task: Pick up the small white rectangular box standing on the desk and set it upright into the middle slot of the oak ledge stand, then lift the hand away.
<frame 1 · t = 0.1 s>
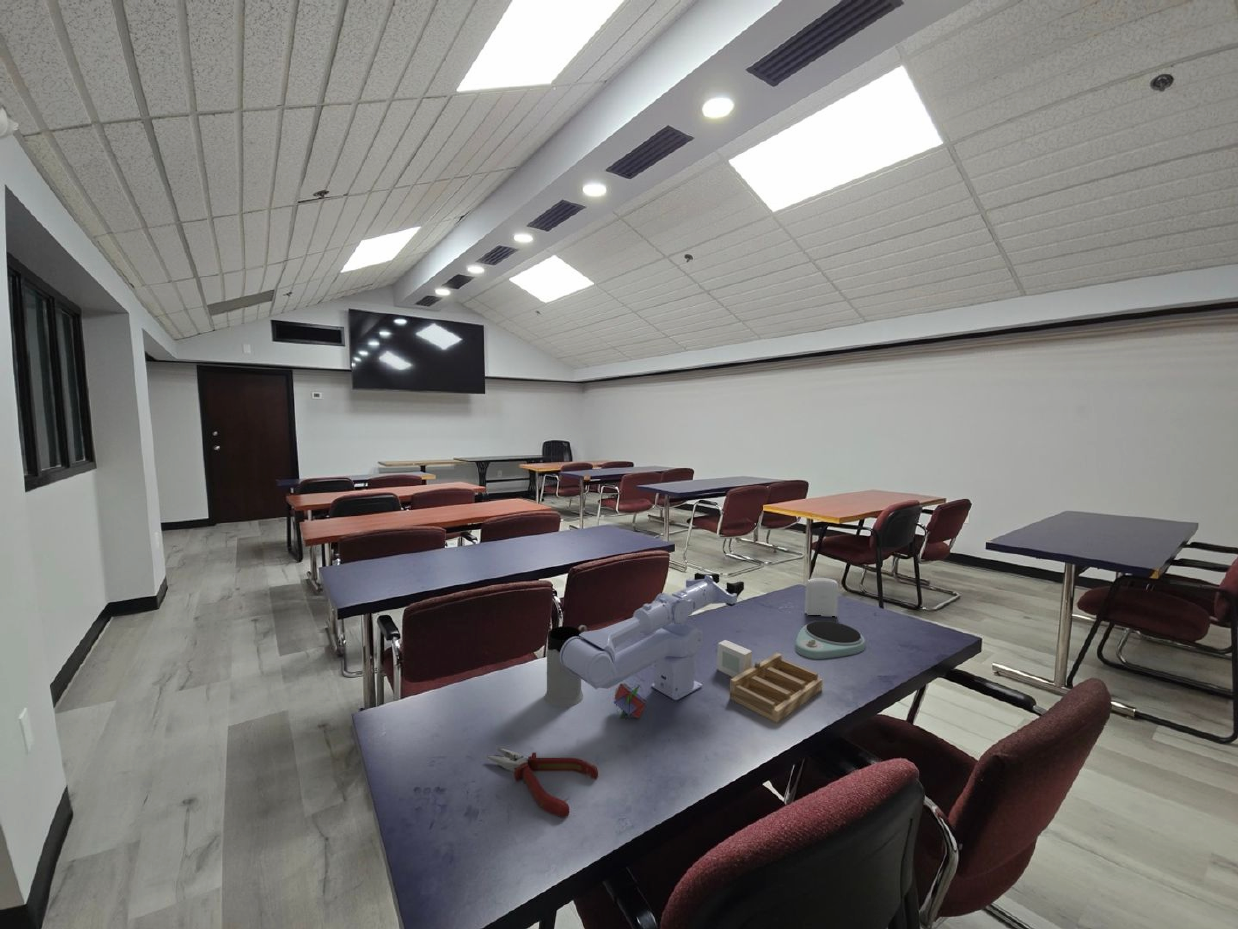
hand: (730, 581, 128), 22 cm above the table, tool horizontal, fingers open, 7 cm apart
geometric puzzle: (629, 716, 106), on the table
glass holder: (570, 691, 115), on the table
photo printer: (820, 615, 162), on the table
pliers: (546, 776, 88), on the table
white rectangular box: (733, 673, 124), on the table
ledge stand: (776, 693, 115), on the table
scale: (826, 645, 142), on the table
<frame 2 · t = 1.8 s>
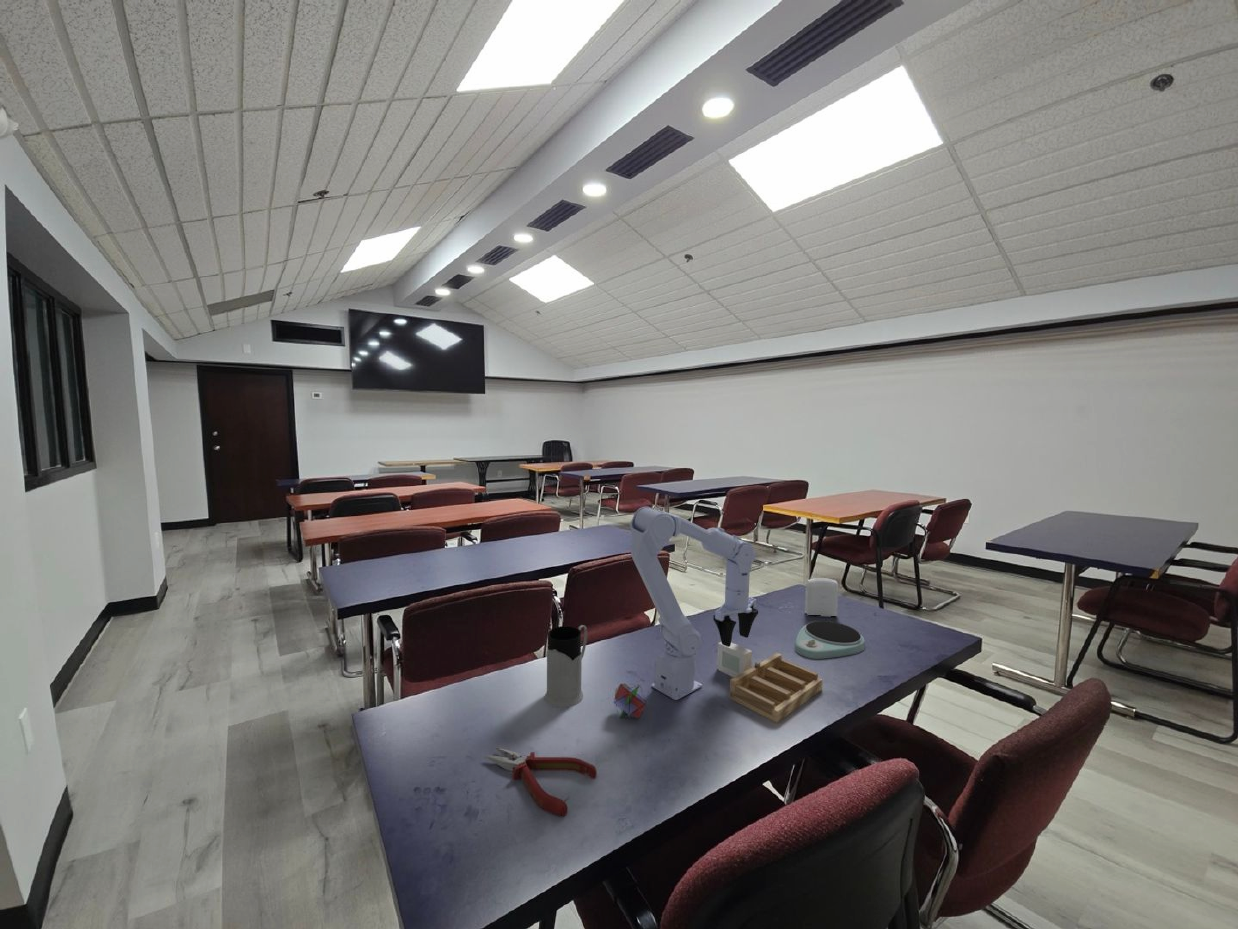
hand: (735, 640, 123), 9 cm above the table, tool pointing down, fingers open, 7 cm apart
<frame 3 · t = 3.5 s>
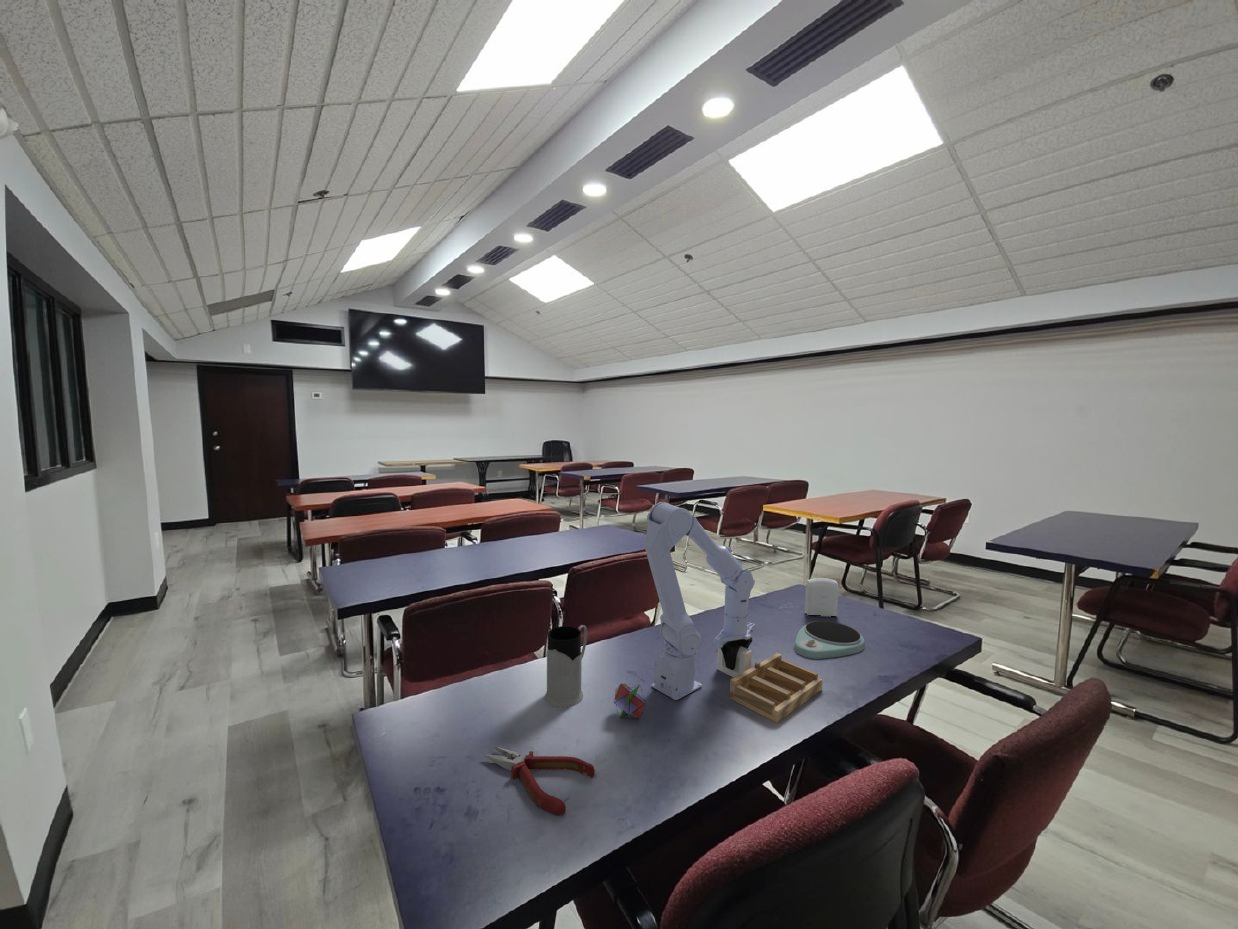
hand: (734, 666, 123), 2 cm above the table, tool pointing down, fingers closed on white rectangular box, 3 cm apart
white rectangular box: (733, 673, 124), on the table, touching gripper
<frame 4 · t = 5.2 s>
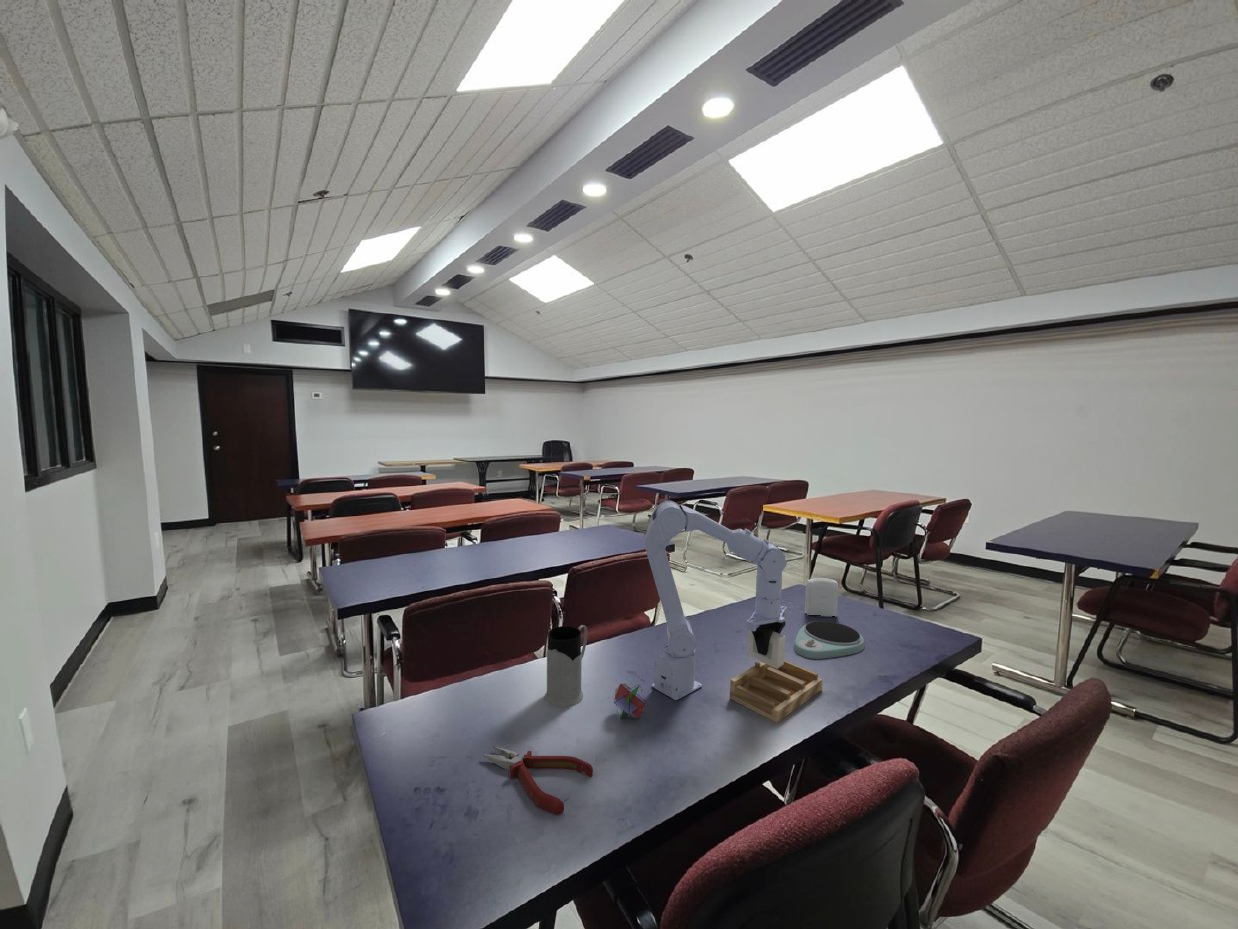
hand: (766, 651, 116), 9 cm above the table, tool pointing down, fingers closed on white rectangular box, 3 cm apart
white rectangular box: (764, 659, 117), point 7 cm above the table, touching gripper
when the fingers open (4 cm above the table, at t = 7.0 s): white rectangular box drops 1 cm, resting on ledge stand.
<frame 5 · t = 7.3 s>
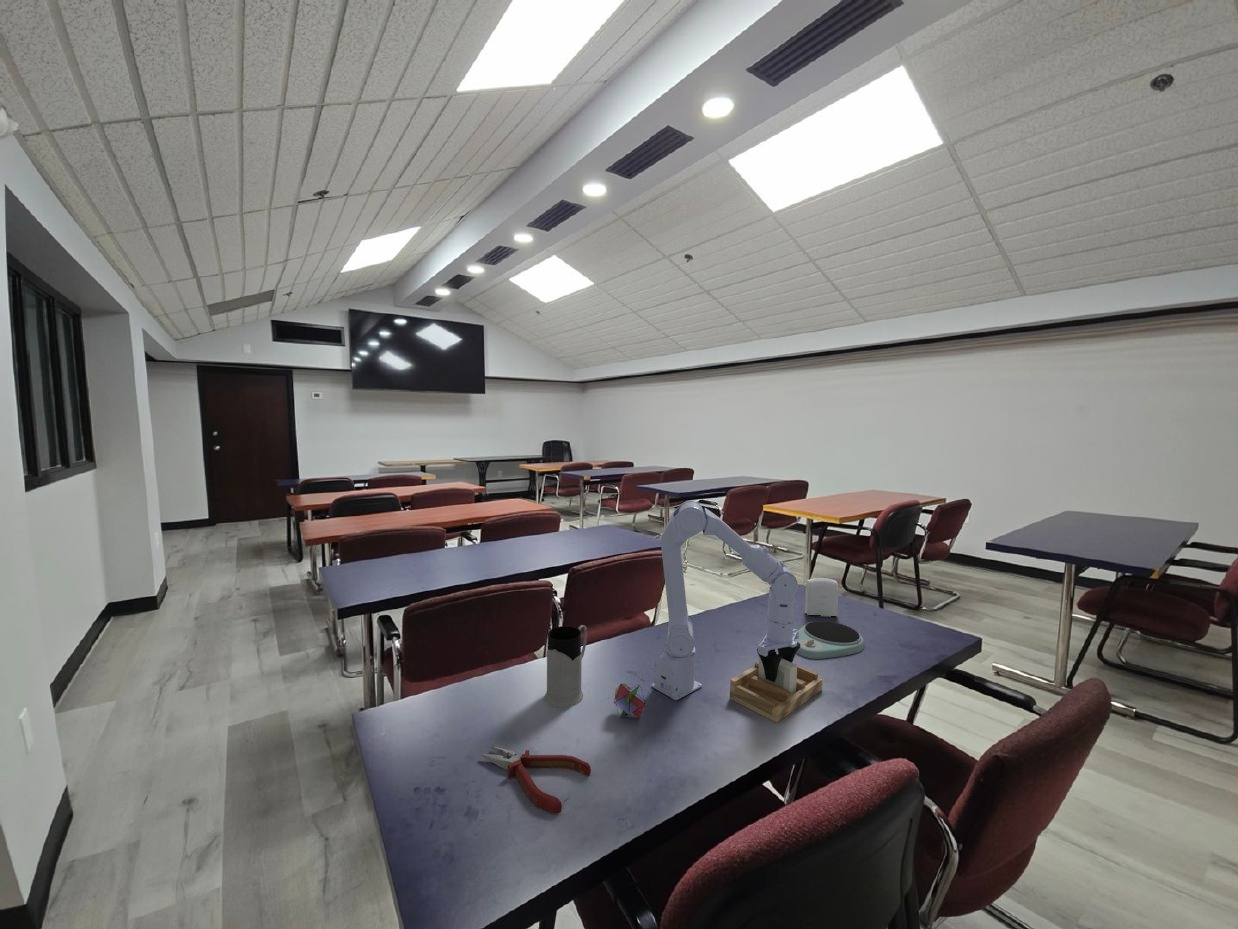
hand: (777, 675, 114), 4 cm above the table, tool pointing down, fingers open, 5 cm apart
white rectangular box: (776, 689, 115), point 1 cm above the table, touching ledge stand
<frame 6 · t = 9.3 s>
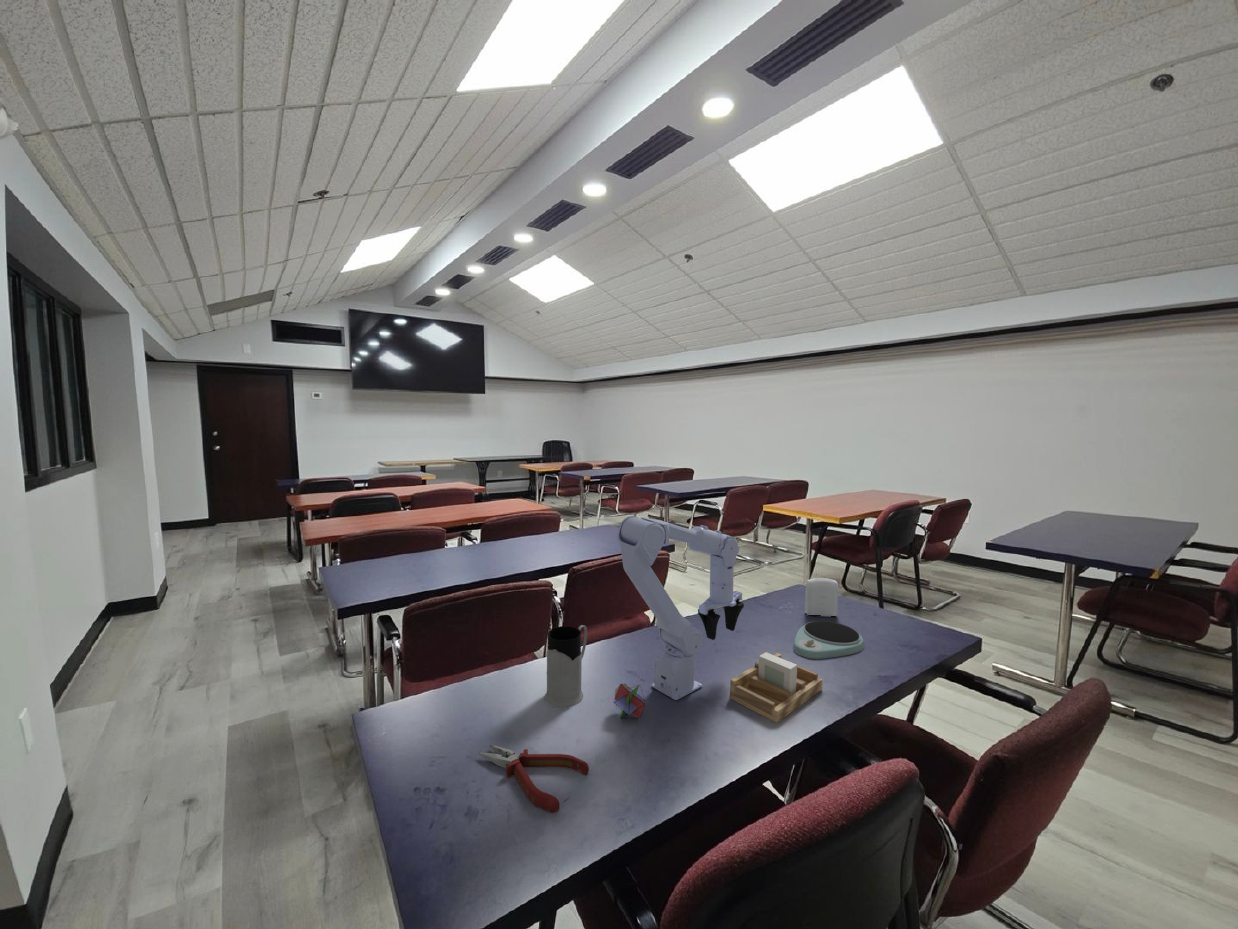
hand: (720, 633, 124), 10 cm above the table, tool pointing down, fingers open, 7 cm apart
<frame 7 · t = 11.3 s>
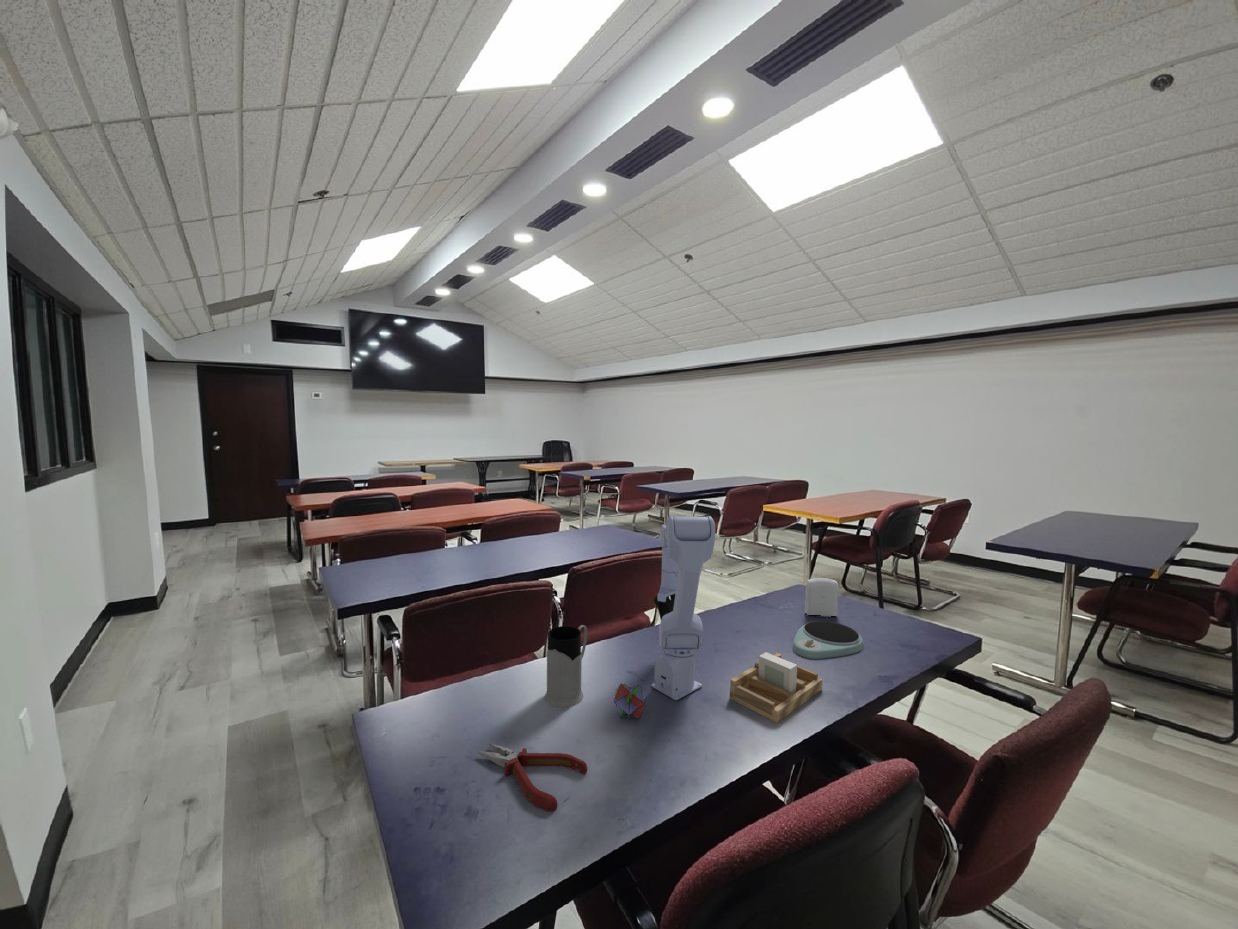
hand: (671, 619, 132), 10 cm above the table, tool pointing down, fingers open, 7 cm apart
at the end: white rectangular box 0.3 cm off-centre on the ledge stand, point 1.0 cm above the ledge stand's base; white rectangular box tilted 0°; the gripper is holding nothing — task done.
